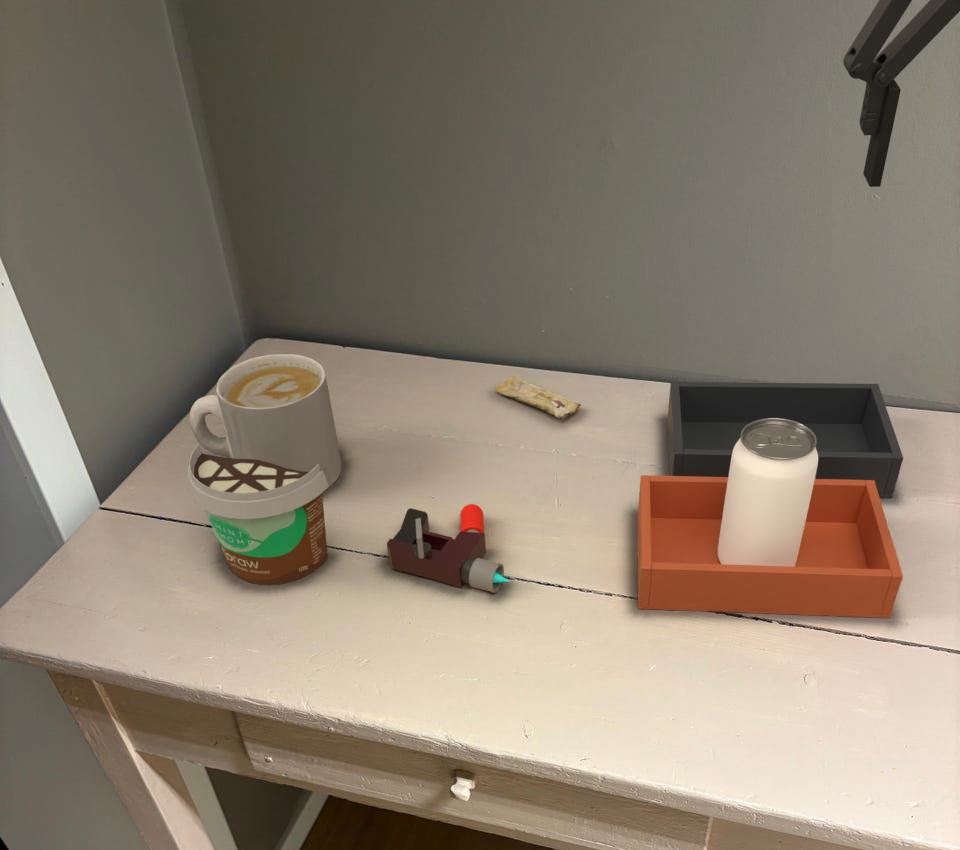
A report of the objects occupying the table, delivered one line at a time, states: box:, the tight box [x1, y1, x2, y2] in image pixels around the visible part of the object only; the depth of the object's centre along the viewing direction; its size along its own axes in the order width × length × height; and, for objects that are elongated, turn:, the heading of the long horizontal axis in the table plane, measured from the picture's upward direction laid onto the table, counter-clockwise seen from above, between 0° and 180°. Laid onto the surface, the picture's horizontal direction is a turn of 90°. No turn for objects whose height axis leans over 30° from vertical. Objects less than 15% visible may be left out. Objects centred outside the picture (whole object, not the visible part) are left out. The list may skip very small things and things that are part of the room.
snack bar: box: [495, 376, 582, 419], centre depth 103 cm, size 10×2×3 cm
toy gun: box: [386, 503, 511, 593], centre depth 85 cm, size 10×12×5 cm
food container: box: [187, 442, 329, 586], centre depth 83 cm, size 12×6×10 cm, turn 70°
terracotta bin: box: [637, 474, 904, 619], centre depth 82 cm, size 20×13×4 cm, turn 84°
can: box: [718, 418, 818, 567], centre depth 79 cm, size 6×6×12 cm
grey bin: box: [666, 381, 904, 499], centre depth 93 cm, size 20×13×4 cm, turn 84°
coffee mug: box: [189, 353, 343, 491], centre depth 94 cm, size 13×10×10 cm
